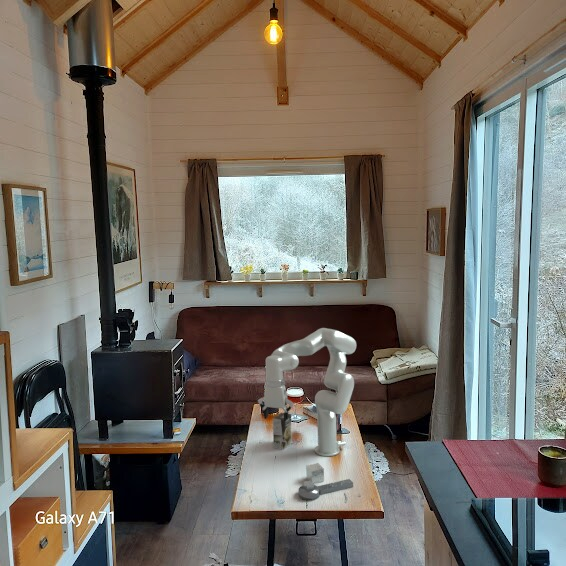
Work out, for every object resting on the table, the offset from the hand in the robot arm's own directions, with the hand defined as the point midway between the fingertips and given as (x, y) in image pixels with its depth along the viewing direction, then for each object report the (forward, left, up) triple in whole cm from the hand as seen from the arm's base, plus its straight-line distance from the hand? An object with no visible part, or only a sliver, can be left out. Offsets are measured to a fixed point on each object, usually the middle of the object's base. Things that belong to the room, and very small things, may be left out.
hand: (276, 418), depth 244 cm
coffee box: (-14, -28, -27) cm, 41 cm away
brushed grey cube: (-14, +12, -27) cm, 32 cm away
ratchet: (-14, +23, -27) cm, 38 cm away
